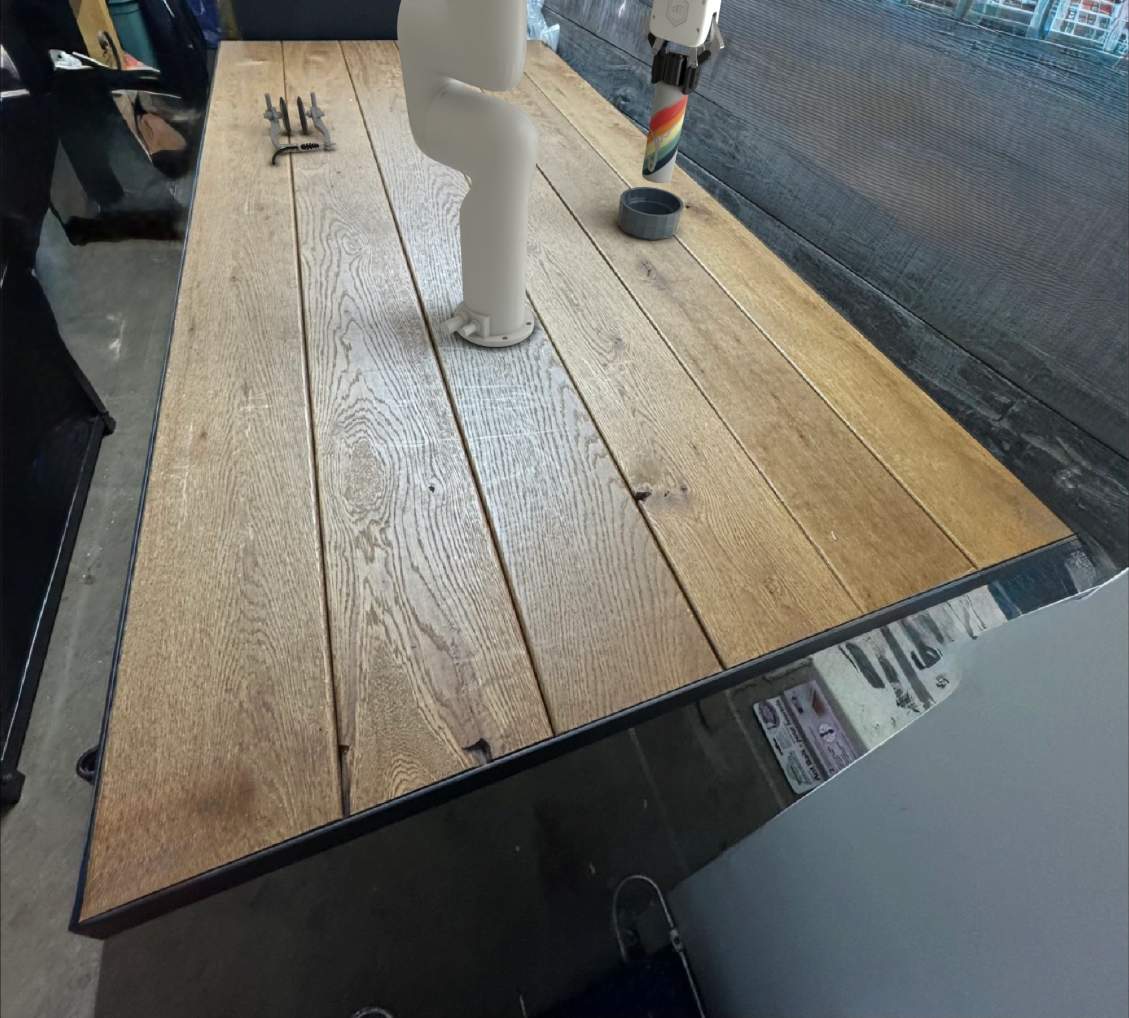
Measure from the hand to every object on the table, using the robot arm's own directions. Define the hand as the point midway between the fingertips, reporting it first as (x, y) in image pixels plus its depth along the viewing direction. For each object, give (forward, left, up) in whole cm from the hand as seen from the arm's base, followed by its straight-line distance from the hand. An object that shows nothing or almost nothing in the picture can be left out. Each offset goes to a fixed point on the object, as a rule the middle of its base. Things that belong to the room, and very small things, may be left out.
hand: (672, 86), depth 110 cm
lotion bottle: (0, 0, -15) cm, 15 cm away
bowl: (0, 0, -24) cm, 24 cm away
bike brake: (-27, +73, -25) cm, 82 cm away
